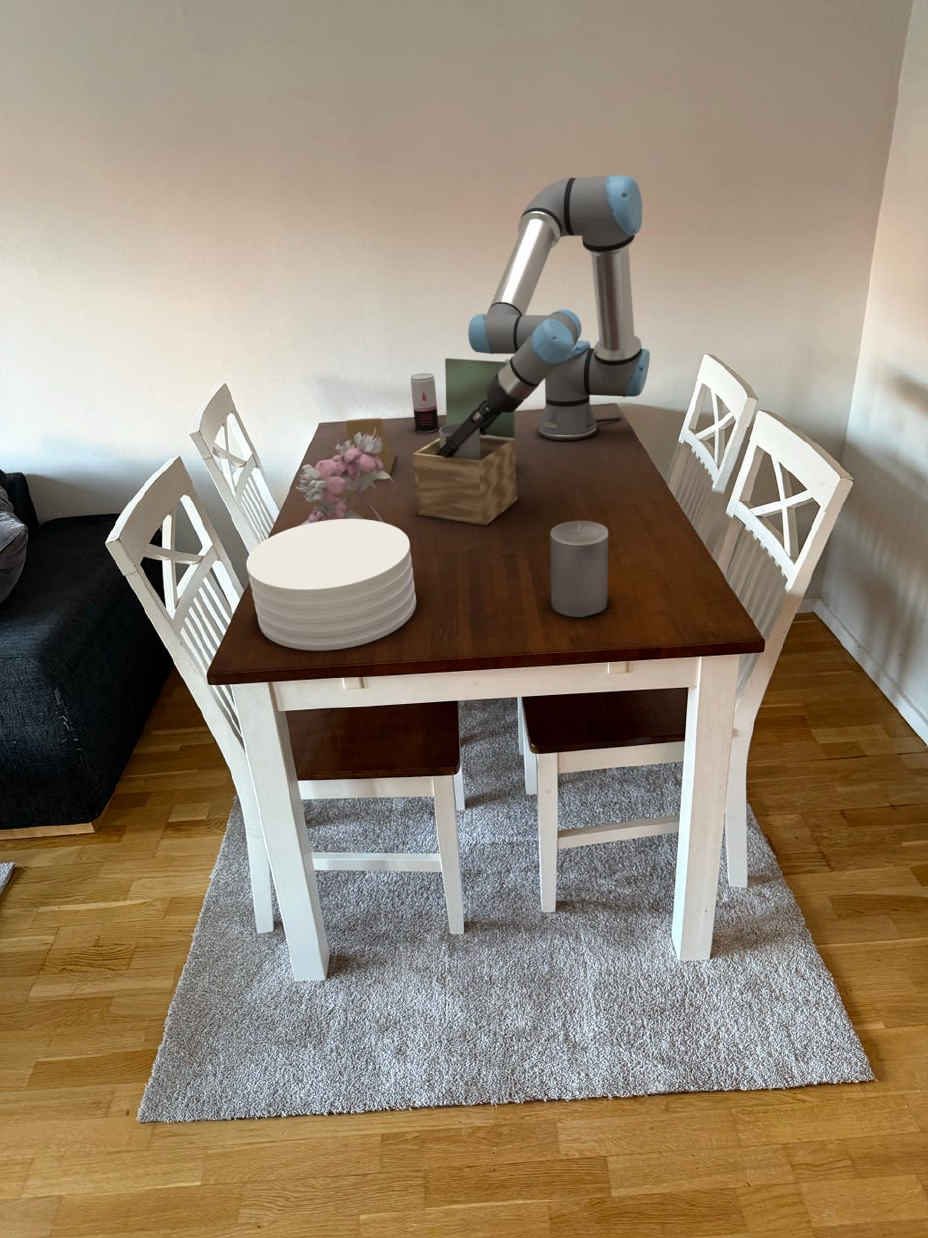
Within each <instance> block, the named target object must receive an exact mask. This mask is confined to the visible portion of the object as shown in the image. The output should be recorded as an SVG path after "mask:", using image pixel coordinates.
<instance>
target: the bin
mask: <svg viewBox="0 0 928 1238" xmlns="http://www.w3.org/2000/svg"><path fill="white" fill-rule="evenodd" d="M515 445H516V443H515V439H514V440H509V439H499V438H490V437H481V435H480V448H481V461H479V460H471V459H463V458H455V457H444V456H438V455H436V454H437V452H438V451H439V450H440V449H441V445H440V437H439V438H436V439H435V440H433V441H432V442H430V443H428V444H427V445H425V446H423V447H422V448H420V449H418V450H417V451H415V452H413V453H412V463H413V473H414V481H415V492H416V502H417V512H418V515H419V516H425V517H430V518H437V519H445V520H451V521H456V522H462V523H469V524H476V525H481V526H482V525H483V526H487V525H488V524H490V523H491V522H492V521H493V520H495V519H496V518H497V517H498V516H500V515H501V514H503V512H504V511H505V510H507V509H508V508H510V507H511V506H512V505H513V504H514V503H515V502H517V501H518V493H517V492H518V490H517V467H516V446H515Z"/></svg>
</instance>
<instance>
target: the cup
mask: <svg viewBox="0 0 928 1238" xmlns="http://www.w3.org/2000/svg"><path fill="white" fill-rule="evenodd" d="M461 424H462V423H453V424H449V425H445V424H444V425H443V426H441V427H440V428H439V431H438V432H439V438H440V445H441V448H442V447H443V446H444V445H445V444H446V442H445V441H446V437H447V436H449V437H450V436H451V435H452V434H453V433H454V432H455V431H456V430H457V429H458V428H459V427H460V425H461ZM480 436H481V435H480V432H479V428H478V429H477V430H476V431H475V432H474V433H473V434H472V435H471V436H470V437H469V438H468V439H467V440H466V441H465V442H464V443H463V444H462V445H461V446H460V447H459V449H458V451H457V452H456V453H455V454H454V455H453V456H452V457H455V458H463V459H471V460H479V461H481V448H480Z"/></svg>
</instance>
